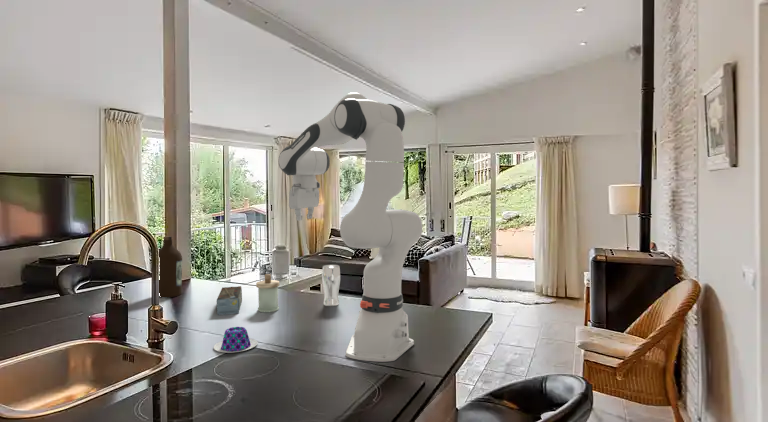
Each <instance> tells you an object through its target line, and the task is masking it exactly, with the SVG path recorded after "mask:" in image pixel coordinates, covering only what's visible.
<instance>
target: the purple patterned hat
mask: <svg viewBox="0 0 768 422" xmlns="http://www.w3.org/2000/svg"><path fill="white" fill-rule="evenodd" d="M258 343H259V342H258V340H256V339H254V338H251V337H249V333H248V330H247V329H246V327H243V326H232V327H230V328H227V329H225V330H224V333H223V337H222V340H221V341H219V342H217V343H215V344H214V346H213V350H214V351H217V352H219V353H228V354H229V353H231V354H232V353H233V352H234V353H239V352H240V353H241V352H244V351H247V350H248V351H249V350H250V349H253V348H255V347H256V346H257V345H258Z"/></svg>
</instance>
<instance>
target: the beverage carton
mask: <svg viewBox="0 0 768 422" xmlns="http://www.w3.org/2000/svg"><path fill="white" fill-rule="evenodd" d="M242 290H243V288H242V286H241V285H240V286H239V285H238V286H227V287H222V288H221V289H220V292H219V294H218V296H217V298H216V312H217V315H218V316H219V315H222V316H223V315H235V314H239V313H240V310H241V306H242V302H243V291H242Z"/></svg>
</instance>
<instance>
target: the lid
mask: <svg viewBox="0 0 768 422" xmlns="http://www.w3.org/2000/svg"><path fill="white" fill-rule="evenodd" d="M255 285H256V288H274V287H278V288H279V287H280V281H279V280H275V279H274V280H273V279H272V274H271V273H266V274H264V280H260V281H257V282H256V283H255Z"/></svg>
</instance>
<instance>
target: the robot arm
mask: <svg viewBox="0 0 768 422" xmlns="http://www.w3.org/2000/svg"><path fill="white" fill-rule="evenodd" d="M405 122H406V119H405V113H404V111H403V110H402V108H400V107H399V106H397V105H394V104H391V103H384V102H380V101H376V100H373V99H367V98H366V96H364V95H363V94H362V93H360V92H359V93H358V92H349V93H346V94H345V95H344V96H343V97H342V98H341V99H340V100H339V101H338V102H337V103H336V104H335V105H334V107H333V108H332V109H331V110H330V111H329V112H328V113H327V114H326V115H325V116H324V117H322V118H321V119H320V120H318V121H316V122H315V123H313V124H311V125H309V126H308V127H307V128H306V129H305V130H304V131H302V132H301V134H300V135H299V136H297V138H296V139H295V140H294V141H293V142H292V143H291V144H289V145H288V146H285V147H284V148H283V149H282V151H280V154H279V155H278V166H279V169H280V170H281V171H282V172H283V173H284V174H285V175H287V176H292V186H291V188H290V190H289V193H288V194H289V195H288V207H289V209H293V210H294V213H295V216H296V217H295V219H296V221H297V222H298V221H300V222H301V221H303V215H302V209H306V208H307V214H306V219H308V220H309V219H310V220H311V219H313V214H314V211H315V208H317V207H319V204H320V189H321V183H320V182H319V181H318V180H317V176H316V175H319V176H320V175H324V174H325V173H327V171H328V170H329V169H330V162H331V161H330V160H331V158H330V156H329V154H328V152H327V151H326V150H324V149H323V148H322V149H321V148H318V147H322V146H323V147H324V146H336V145H337V146H338V145H344V144H346V143H349V142H350V141H352V140H356V141H357V140H358V139H359V138H362V139H363V140H364V141H365V145H366V149H365V150H366V151H365V167H364V169H365V170H364V181H363V188H362V192H361V195H360V197H359V199H358V201H357V202H356V204H355V206H354V207H353V208H352V209H351V210H350V211H349V212H347V214H346V215H345V216H344V217H343V218H342V220H341V221H340V224H339V225H340V226H339V235H340V237H341V239H342V241H343V243H344V244H345V245H346V246H347V247H349V248H354V249H360V250H361V249H363V250H366V249H367V250H368V249H378V248H379V249H378V252H377V254H376V256H375V257H374V258H373V259H372V260H371V261H369V262H367V264H366V265H365V267H364V269H363V294H362V295H361V296H362V297H361V301H360V303H359V306H360V308H361V309H360V310H359V312H358V317H357V320H356V324H355V328H354V334H352V335H351V338H350V341H349V344H348V346H347V348H346V350H345V356H346V358H350V359H353V360H359V361H365V362H383V363H384V362H386V363H387V362H394V361H396V360H397V359H398V358H400V357H401V356H402V355H403V354H404V353H405V352H406V351H408V350H409V349H410V348H411V347H413V346H414V345H415V340H414V339H413V338H410V337H409V336H410V335H409V318H408V317H409V316H408V314H407V312H406V311H404V309H403V306H404V298H403V293H402V277H403V276H402V275H403V267H404V263H405V261H406V257H407V255H408V253H409V251H410V249H411V248H412V247H413V246H414V245H415V244H416V243H417V242H418V241H419V240H420V238H421V236H422V233H423V223H422V220H421V218H420V216H419V215H418V214H417V212H415V211H412V210H406V209H403V208H402V209H387V208H388V204H389V203H390V201H391V200H392V199H393V198H395V197H396V196H398V195H399V194H400V193H402V190H403V187H404V172H405V171H404V170H405V168H404V167H405V147H404V145H405V144H404V138H403V131H404V129H405V126H406V125H405V124H406V123H405Z"/></svg>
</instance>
